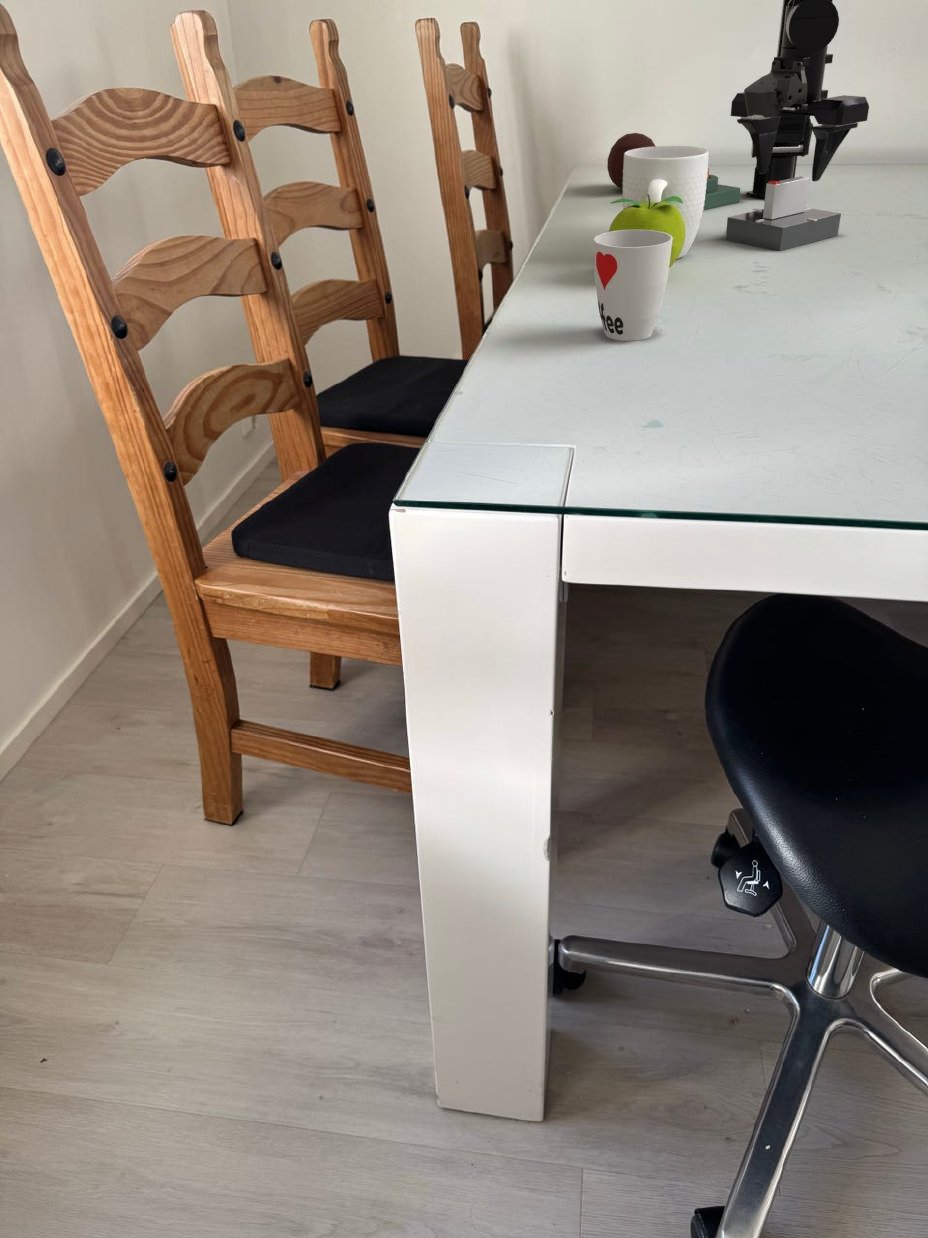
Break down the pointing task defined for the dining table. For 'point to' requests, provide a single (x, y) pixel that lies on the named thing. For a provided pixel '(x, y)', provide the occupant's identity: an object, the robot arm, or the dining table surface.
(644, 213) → the fruit
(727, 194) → the tap control
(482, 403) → the dining table surface
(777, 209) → the red-tipped white block
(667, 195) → the mug
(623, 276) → the cup
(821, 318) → the dining table surface
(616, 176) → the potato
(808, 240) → the base
